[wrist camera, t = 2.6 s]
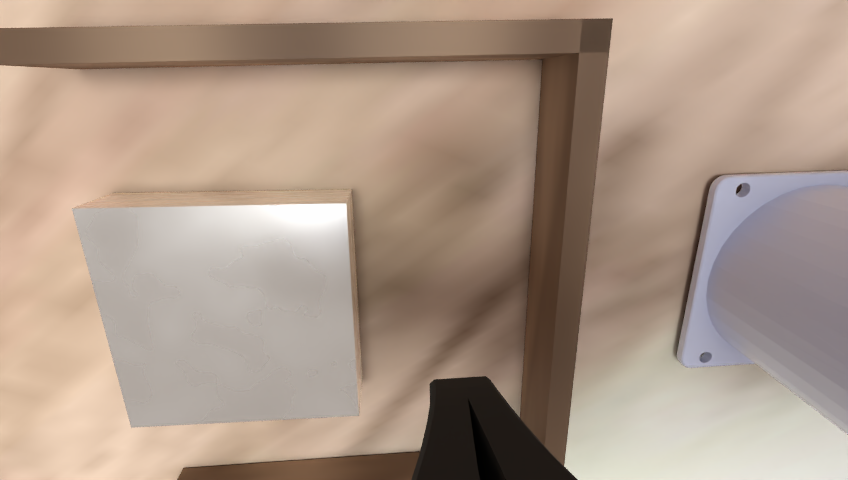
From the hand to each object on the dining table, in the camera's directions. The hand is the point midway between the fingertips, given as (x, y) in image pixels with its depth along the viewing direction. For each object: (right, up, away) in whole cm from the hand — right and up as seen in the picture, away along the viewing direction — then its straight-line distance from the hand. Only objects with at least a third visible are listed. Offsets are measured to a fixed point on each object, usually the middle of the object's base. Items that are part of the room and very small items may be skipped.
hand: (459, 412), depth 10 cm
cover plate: (-7, +2, +6) cm, 10 cm away
